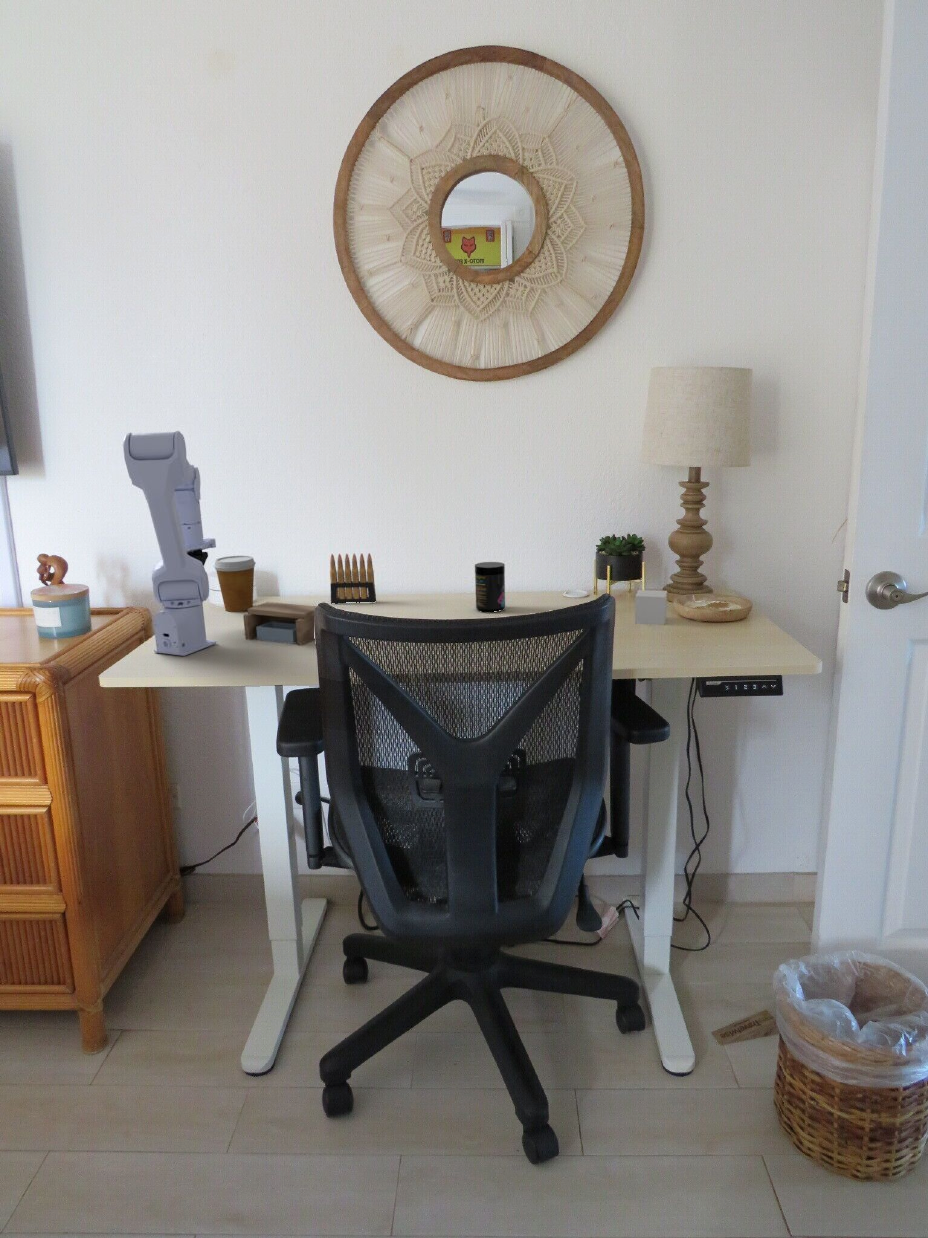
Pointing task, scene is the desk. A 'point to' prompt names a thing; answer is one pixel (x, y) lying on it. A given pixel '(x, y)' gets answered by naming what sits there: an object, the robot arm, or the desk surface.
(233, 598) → the disposable coffee cup
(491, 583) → the supplement container
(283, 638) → the grey tray
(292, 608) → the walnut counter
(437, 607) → the desk surface
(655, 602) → the grey cube
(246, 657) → the desk surface
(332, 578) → the ammunition clip
